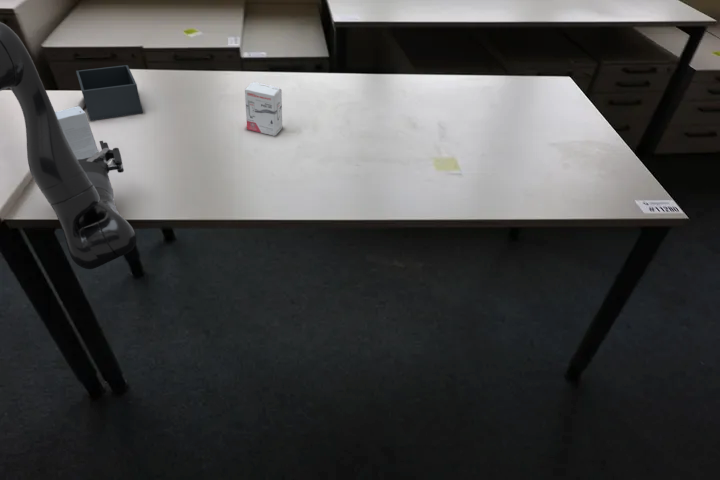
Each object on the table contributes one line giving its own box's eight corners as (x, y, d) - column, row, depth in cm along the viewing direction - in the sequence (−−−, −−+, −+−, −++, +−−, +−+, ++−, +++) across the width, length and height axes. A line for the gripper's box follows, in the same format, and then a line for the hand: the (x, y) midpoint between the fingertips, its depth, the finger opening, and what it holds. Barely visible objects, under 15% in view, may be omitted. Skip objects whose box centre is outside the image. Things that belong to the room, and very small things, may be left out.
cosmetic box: (94, 150, 126) (79, 105, 118) (101, 158, 123) (86, 112, 115) (68, 158, 122) (51, 112, 115) (74, 166, 120) (57, 119, 112)
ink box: (245, 129, 139) (242, 88, 131) (253, 121, 143) (251, 80, 135) (275, 136, 138) (274, 95, 130) (282, 128, 141) (282, 87, 133)
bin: (90, 120, 136) (81, 91, 131) (84, 99, 144) (75, 70, 139) (142, 113, 141) (136, 84, 136) (133, 92, 150) (127, 64, 144)
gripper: (125, 165, 99) (112, 126, 109) (41, 181, 93) (36, 138, 104) (133, 197, 104) (120, 156, 114) (54, 213, 98) (48, 169, 108)
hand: (80, 148), depth 109 cm, fingers open, 8 cm apart
